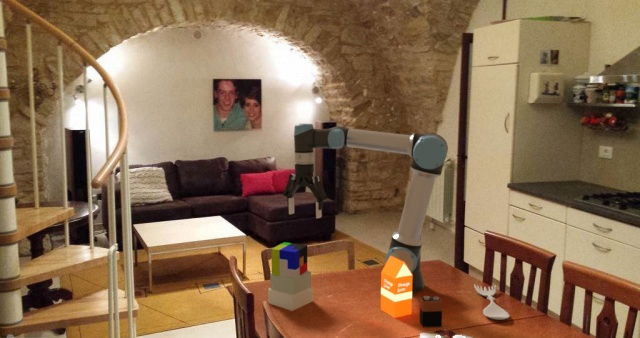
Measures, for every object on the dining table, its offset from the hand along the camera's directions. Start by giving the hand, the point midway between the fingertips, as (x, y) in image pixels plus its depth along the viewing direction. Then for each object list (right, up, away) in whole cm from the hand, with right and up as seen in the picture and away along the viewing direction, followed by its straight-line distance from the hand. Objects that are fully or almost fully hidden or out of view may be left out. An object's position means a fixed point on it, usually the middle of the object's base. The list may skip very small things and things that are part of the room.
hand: (305, 215), depth 217 cm
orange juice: (+34, -34, -19) cm, 51 cm away
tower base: (-5, -32, -10) cm, 34 cm away
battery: (+44, -35, -30) cm, 64 cm away
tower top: (-5, -26, -10) cm, 29 cm away
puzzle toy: (-5, -21, -11) cm, 24 cm away
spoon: (+70, -33, -13) cm, 79 cm away
